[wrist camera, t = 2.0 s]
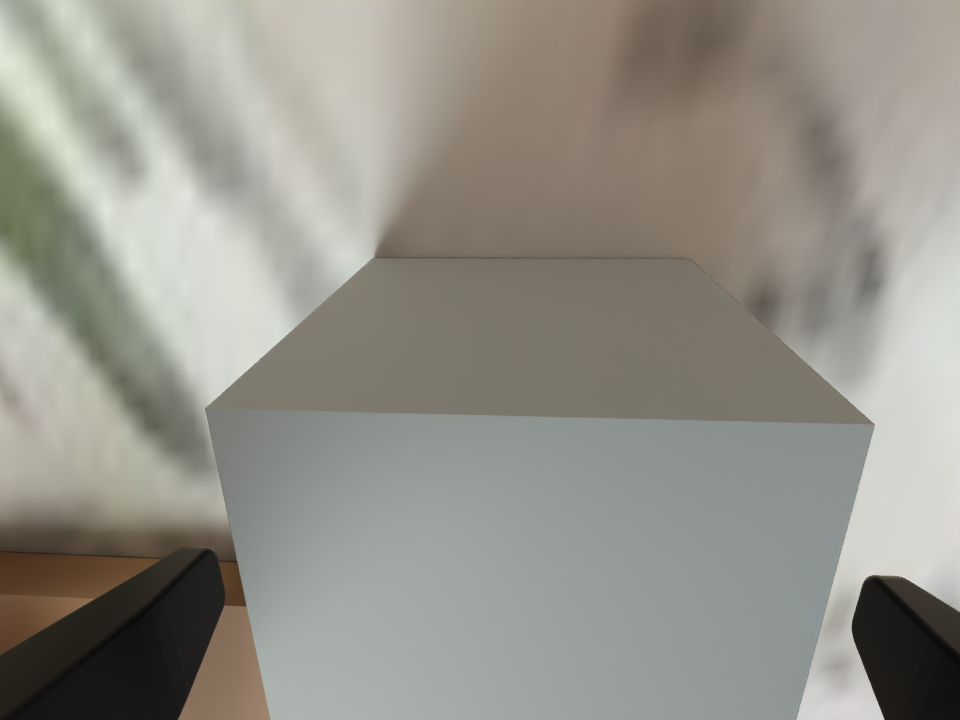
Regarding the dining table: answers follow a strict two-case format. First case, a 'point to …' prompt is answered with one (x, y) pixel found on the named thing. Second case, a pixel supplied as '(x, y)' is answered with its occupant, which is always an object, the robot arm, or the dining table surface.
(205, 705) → the stand
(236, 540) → the matte gray-blue cube
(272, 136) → the dining table surface
